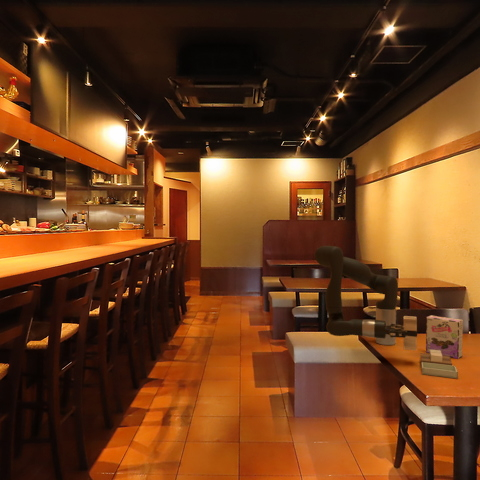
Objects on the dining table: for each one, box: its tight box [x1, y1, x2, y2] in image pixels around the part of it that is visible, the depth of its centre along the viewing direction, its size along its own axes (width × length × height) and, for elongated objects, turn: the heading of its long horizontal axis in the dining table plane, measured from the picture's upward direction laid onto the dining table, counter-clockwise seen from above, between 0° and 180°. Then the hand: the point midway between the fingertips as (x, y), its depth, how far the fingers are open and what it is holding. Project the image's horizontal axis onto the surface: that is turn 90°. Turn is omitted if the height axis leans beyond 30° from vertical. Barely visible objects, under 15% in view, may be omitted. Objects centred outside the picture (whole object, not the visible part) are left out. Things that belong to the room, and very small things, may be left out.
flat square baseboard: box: [420, 352, 453, 369], centre depth 163 cm, size 11×11×3 cm
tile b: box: [430, 352, 442, 362], centre depth 160 cm, size 4×4×2 cm
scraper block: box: [403, 315, 418, 351], centre depth 167 cm, size 5×5×13 cm
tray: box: [421, 362, 459, 379], centre depth 154 cm, size 8×12×2 cm, turn 68°
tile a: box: [429, 349, 441, 357], centre depth 165 cm, size 4×4×2 cm
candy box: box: [425, 315, 464, 360], centre depth 179 cm, size 14×6×16 cm, turn 44°
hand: (416, 332), depth 166 cm, fingers closed on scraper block, 5 cm apart
